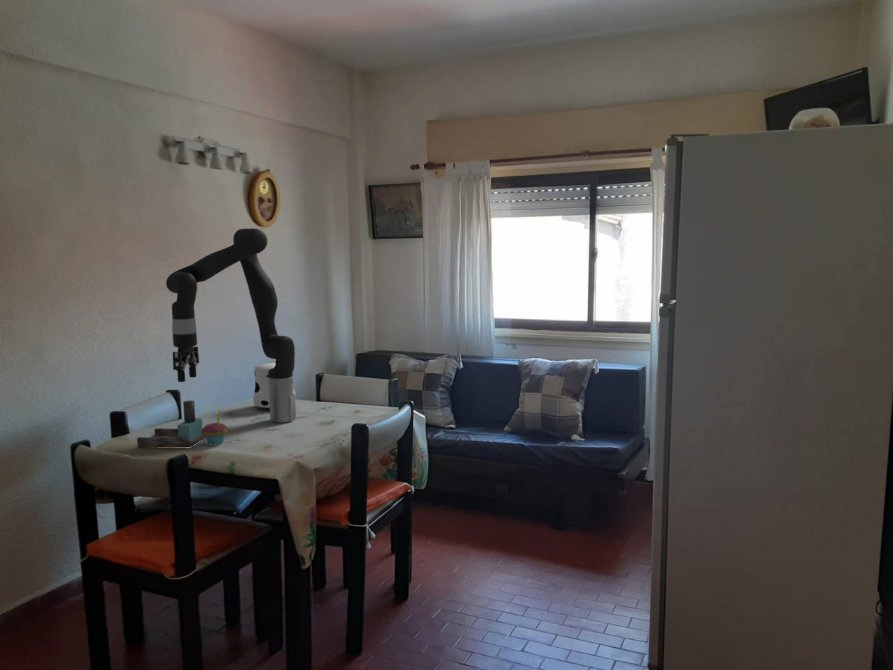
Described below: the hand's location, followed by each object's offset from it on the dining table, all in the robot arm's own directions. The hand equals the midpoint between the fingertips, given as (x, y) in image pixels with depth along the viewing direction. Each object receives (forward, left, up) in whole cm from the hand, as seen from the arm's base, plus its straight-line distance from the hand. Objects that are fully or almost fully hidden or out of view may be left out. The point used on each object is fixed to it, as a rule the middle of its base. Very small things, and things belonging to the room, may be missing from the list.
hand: (187, 379), depth 223 cm
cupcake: (-9, 0, -23) cm, 24 cm away
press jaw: (0, 0, -21) cm, 21 cm away
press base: (+7, 0, -22) cm, 23 cm away
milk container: (-11, -55, -23) cm, 61 cm away
